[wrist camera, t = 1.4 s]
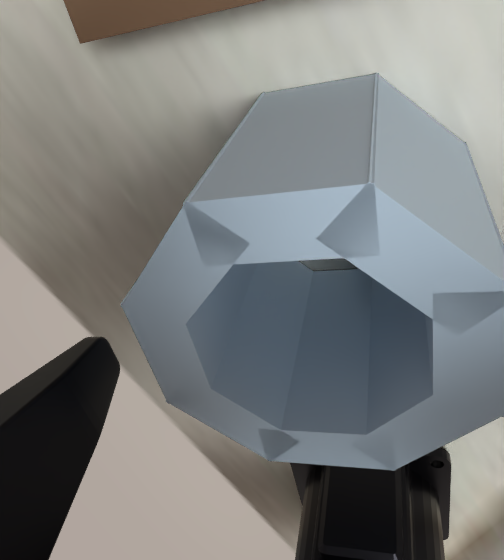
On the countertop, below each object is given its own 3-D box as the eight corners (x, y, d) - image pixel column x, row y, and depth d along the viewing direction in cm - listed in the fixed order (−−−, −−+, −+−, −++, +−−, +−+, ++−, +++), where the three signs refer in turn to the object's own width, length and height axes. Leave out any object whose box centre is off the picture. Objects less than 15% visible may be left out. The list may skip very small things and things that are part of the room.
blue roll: (460, 297, 14) (497, 479, 10) (246, 303, 16) (191, 455, 12) (470, 56, 10) (538, 163, 6) (190, 104, 13) (75, 212, 8)
